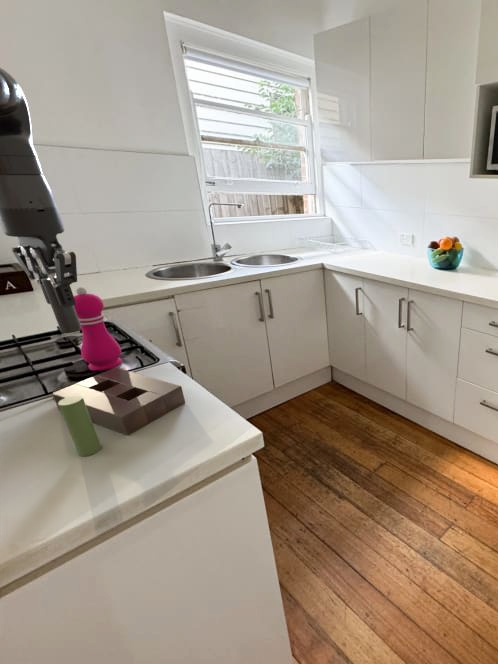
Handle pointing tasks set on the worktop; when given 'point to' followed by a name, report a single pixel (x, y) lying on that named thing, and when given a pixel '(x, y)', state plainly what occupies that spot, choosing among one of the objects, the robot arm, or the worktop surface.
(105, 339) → the pepper mill
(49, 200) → the robot arm
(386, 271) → the worktop surface
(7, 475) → the worktop surface
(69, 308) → the charcoal peg
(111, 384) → the peg block
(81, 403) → the green peg
